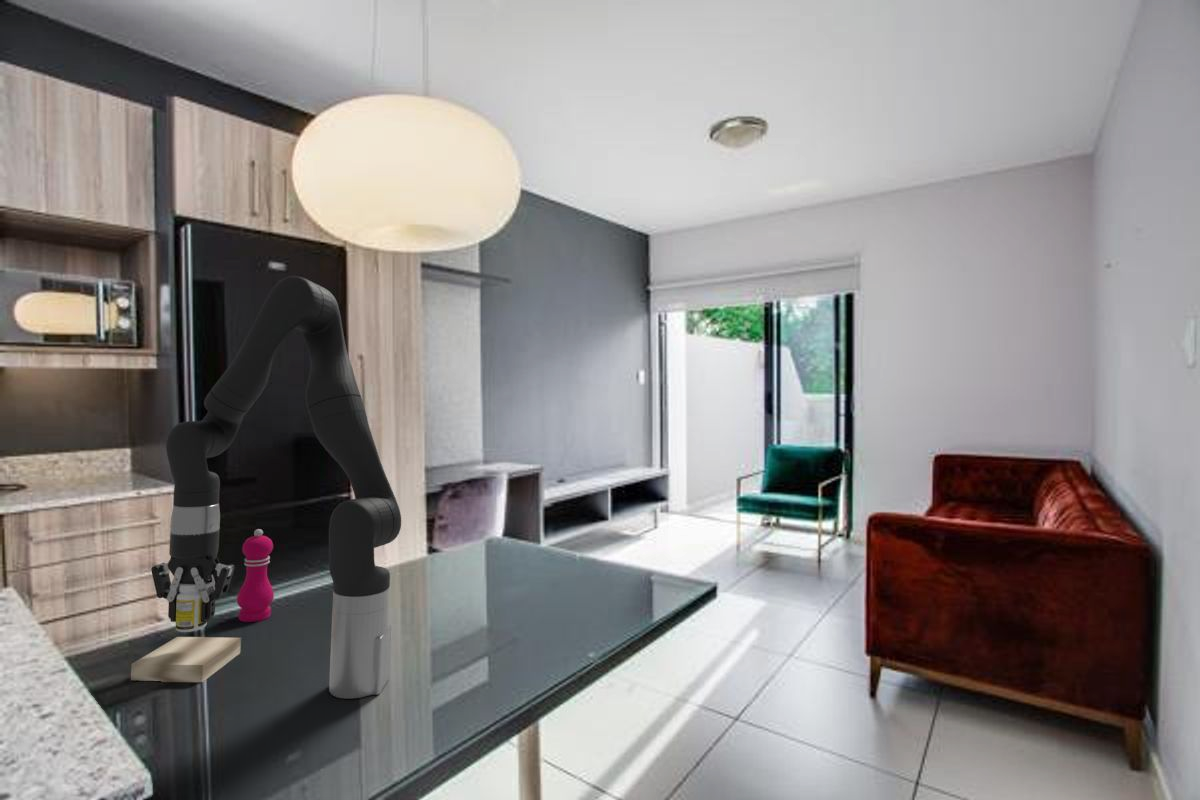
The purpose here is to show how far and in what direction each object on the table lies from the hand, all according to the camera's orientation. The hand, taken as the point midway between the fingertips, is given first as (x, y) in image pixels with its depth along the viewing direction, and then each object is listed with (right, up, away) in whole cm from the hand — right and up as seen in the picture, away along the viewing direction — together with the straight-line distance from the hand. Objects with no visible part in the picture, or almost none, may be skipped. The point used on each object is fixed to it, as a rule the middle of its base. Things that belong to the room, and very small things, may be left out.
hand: (191, 620), depth 108 cm
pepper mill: (-3, -9, +25) cm, 26 cm away
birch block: (0, -8, 0) cm, 8 cm away
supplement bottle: (0, -2, 0) cm, 2 cm away
